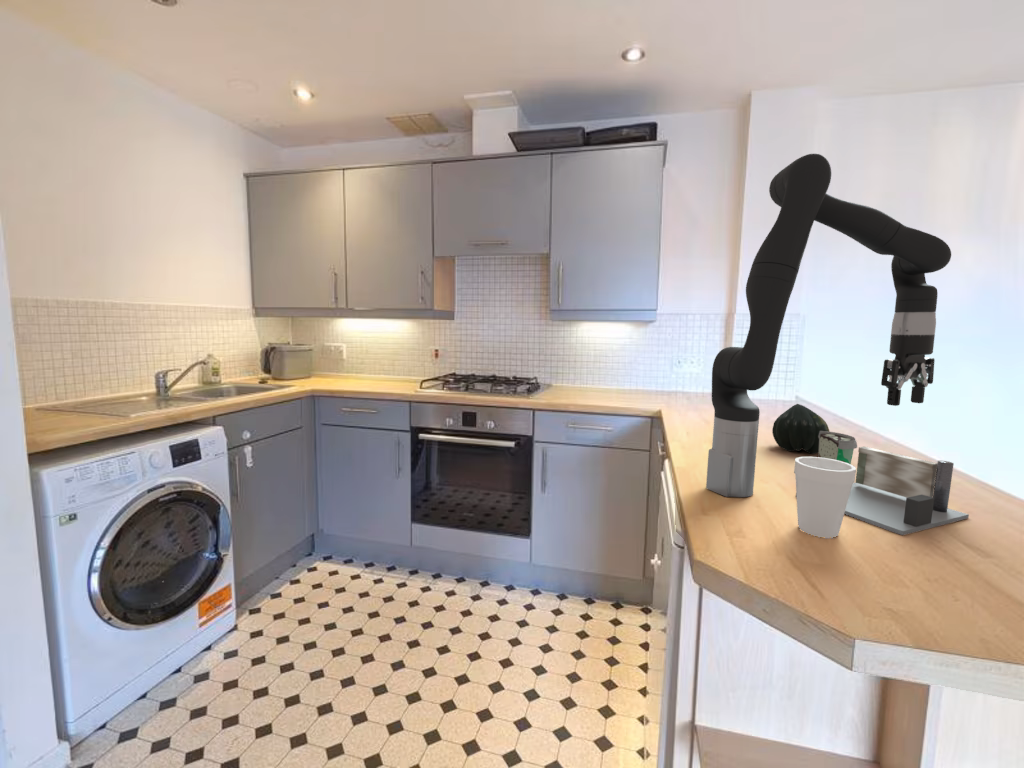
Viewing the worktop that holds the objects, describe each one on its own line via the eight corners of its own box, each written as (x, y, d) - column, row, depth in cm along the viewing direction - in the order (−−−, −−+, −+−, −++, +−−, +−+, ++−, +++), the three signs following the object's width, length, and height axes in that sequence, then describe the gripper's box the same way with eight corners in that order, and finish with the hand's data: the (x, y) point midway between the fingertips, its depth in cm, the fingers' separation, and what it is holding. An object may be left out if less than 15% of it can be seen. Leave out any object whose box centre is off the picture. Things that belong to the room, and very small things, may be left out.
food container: (863, 481, 117) (868, 442, 115) (836, 479, 118) (840, 441, 117) (840, 467, 129) (843, 431, 127) (815, 465, 130) (818, 430, 129)
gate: (933, 503, 99) (938, 463, 97) (927, 504, 98) (932, 464, 97) (860, 481, 112) (864, 446, 111) (854, 482, 111) (858, 447, 110)
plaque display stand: (902, 535, 86) (909, 477, 85) (795, 496, 106) (800, 449, 104) (968, 518, 95) (975, 465, 93) (858, 485, 114) (863, 440, 113)
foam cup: (849, 547, 81) (857, 475, 80) (788, 534, 86) (794, 465, 85) (846, 527, 89) (853, 461, 88) (789, 516, 94) (795, 453, 93)
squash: (823, 443, 133) (830, 400, 140) (765, 436, 143) (774, 396, 149) (827, 467, 142) (833, 425, 149) (772, 459, 152) (780, 420, 158)
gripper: (911, 333, 99) (903, 409, 101) (952, 332, 104) (943, 404, 106) (873, 333, 106) (867, 403, 108) (913, 332, 111) (906, 399, 113)
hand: (905, 403), depth 107 cm, fingers open, 8 cm apart
